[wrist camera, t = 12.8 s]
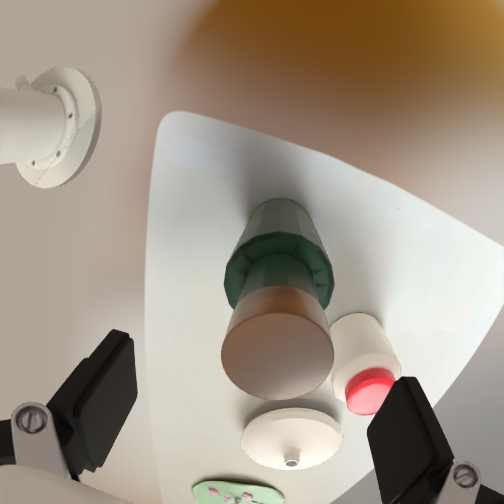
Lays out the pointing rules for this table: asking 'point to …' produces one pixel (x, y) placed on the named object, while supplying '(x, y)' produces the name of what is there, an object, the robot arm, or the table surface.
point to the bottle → (279, 254)
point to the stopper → (278, 344)
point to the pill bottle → (362, 363)
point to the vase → (292, 438)
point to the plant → (235, 493)
